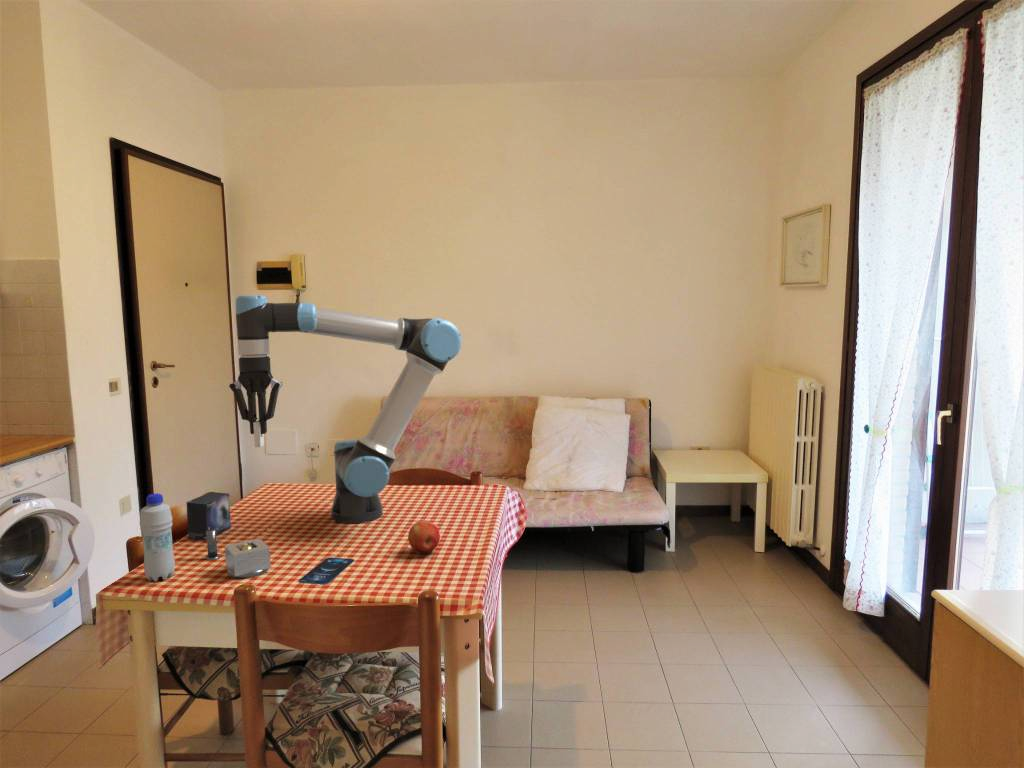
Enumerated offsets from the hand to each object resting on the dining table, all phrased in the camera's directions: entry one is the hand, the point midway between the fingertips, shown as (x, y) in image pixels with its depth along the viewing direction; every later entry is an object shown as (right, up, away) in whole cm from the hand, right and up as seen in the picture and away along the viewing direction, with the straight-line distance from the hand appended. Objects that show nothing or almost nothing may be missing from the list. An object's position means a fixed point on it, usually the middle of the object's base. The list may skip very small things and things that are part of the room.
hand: (259, 446), depth 170 cm
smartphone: (+22, -29, -15) cm, 39 cm away
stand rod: (-9, -27, -6) cm, 30 cm away
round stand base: (+3, -28, -15) cm, 32 cm away
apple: (+44, -27, -4) cm, 51 cm away
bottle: (-16, -29, -18) cm, 38 cm away
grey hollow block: (+3, -27, -15) cm, 31 cm away
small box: (-18, -26, +11) cm, 33 cm away
